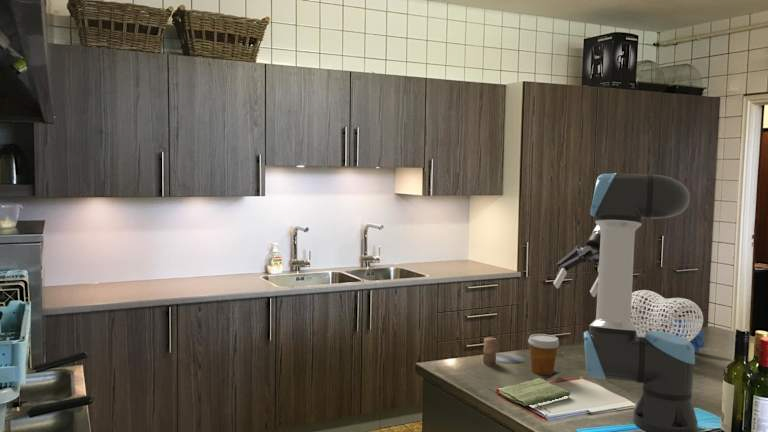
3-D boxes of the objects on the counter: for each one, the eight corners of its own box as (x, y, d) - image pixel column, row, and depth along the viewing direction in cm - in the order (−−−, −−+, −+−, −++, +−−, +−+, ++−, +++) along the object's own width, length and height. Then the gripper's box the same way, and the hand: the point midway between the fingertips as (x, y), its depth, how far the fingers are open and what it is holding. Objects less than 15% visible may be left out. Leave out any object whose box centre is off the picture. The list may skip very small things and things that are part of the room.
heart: (611, 349, 235) (614, 288, 233) (640, 344, 243) (644, 285, 241) (679, 372, 211) (684, 304, 209) (710, 366, 218) (714, 300, 216)
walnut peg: (491, 366, 208) (492, 341, 208) (480, 363, 211) (481, 339, 210) (498, 363, 211) (499, 339, 211) (487, 360, 214) (488, 336, 213)
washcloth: (494, 396, 187) (495, 385, 187) (540, 386, 196) (540, 375, 196) (527, 412, 176) (527, 400, 176) (573, 400, 185) (574, 389, 185)
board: (509, 376, 203) (509, 372, 203) (474, 367, 211) (475, 363, 211) (539, 361, 219) (539, 357, 218) (505, 353, 226) (506, 350, 226)
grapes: (665, 350, 236) (667, 317, 235) (672, 346, 241) (675, 314, 240) (699, 357, 228) (701, 323, 227) (706, 354, 233) (708, 320, 232)
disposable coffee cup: (522, 376, 203) (524, 338, 202) (531, 368, 211) (532, 331, 210) (553, 382, 198) (555, 343, 197) (560, 373, 207) (562, 336, 206)
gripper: (641, 251, 210) (612, 305, 203) (574, 240, 229) (546, 289, 222) (633, 237, 206) (604, 291, 198) (565, 227, 225) (536, 276, 217)
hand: (573, 290), depth 210 cm, fingers open, 13 cm apart
